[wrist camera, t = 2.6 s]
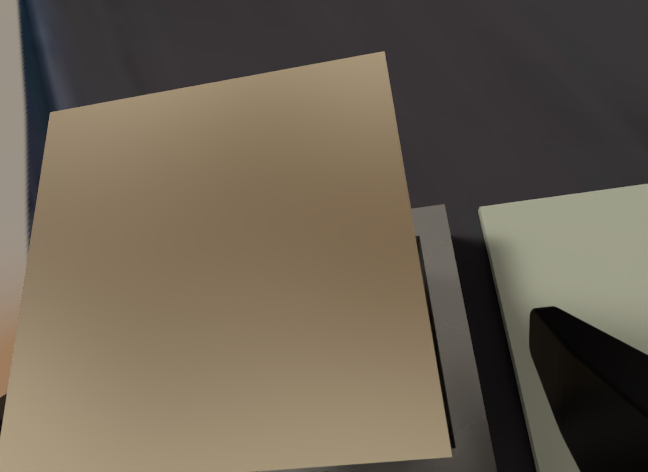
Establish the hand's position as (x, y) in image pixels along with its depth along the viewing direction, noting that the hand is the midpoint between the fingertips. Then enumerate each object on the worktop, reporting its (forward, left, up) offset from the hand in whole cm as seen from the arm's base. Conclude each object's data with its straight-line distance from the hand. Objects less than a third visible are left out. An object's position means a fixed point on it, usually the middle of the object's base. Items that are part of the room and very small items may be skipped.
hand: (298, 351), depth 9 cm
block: (+1, 0, -8) cm, 9 cm away
